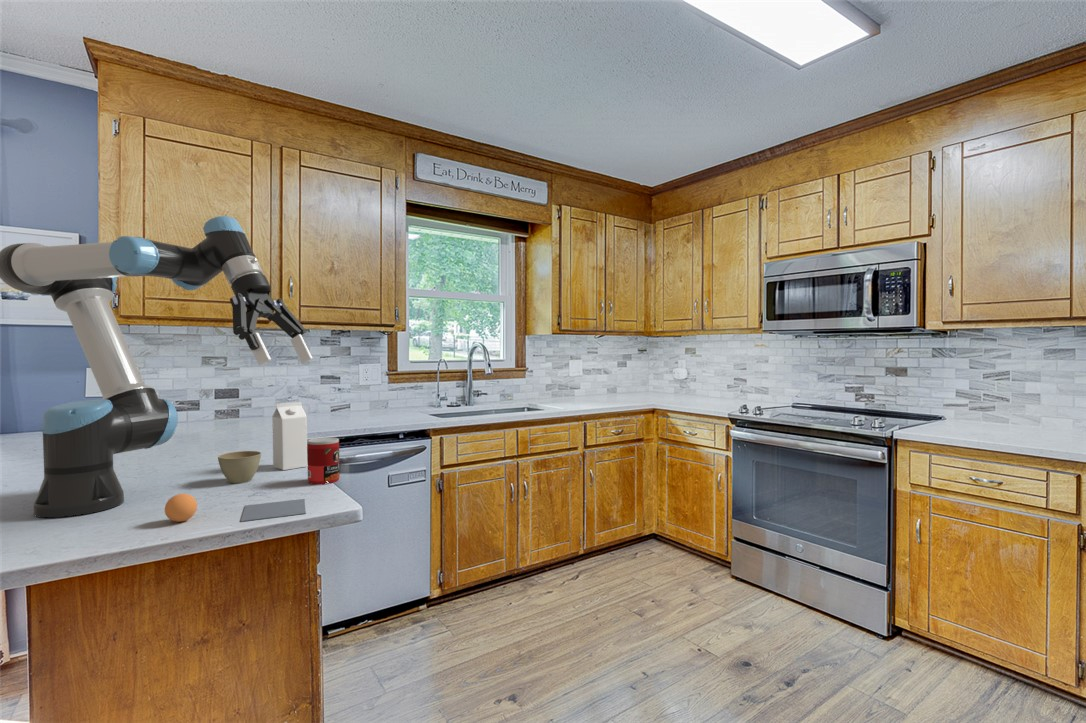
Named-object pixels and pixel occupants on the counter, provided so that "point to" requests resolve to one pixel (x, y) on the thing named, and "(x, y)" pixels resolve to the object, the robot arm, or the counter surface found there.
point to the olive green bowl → (239, 465)
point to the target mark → (273, 510)
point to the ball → (180, 507)
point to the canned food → (323, 460)
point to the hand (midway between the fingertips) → (287, 362)
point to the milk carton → (289, 436)
